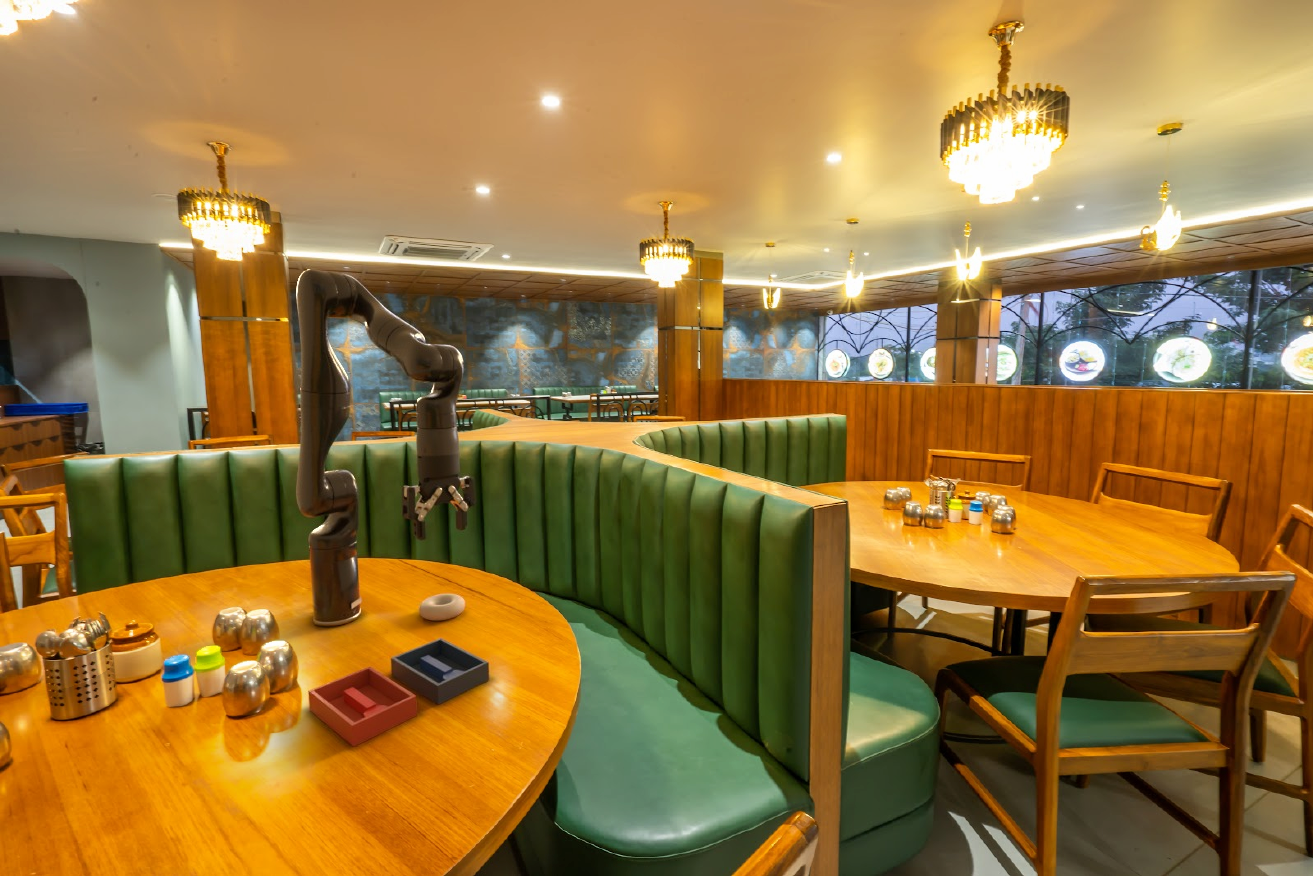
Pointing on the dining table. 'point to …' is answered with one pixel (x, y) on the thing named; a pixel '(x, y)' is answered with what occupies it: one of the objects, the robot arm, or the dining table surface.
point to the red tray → (350, 722)
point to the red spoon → (361, 702)
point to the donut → (442, 607)
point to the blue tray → (430, 686)
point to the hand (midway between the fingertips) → (441, 534)
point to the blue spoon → (438, 668)
